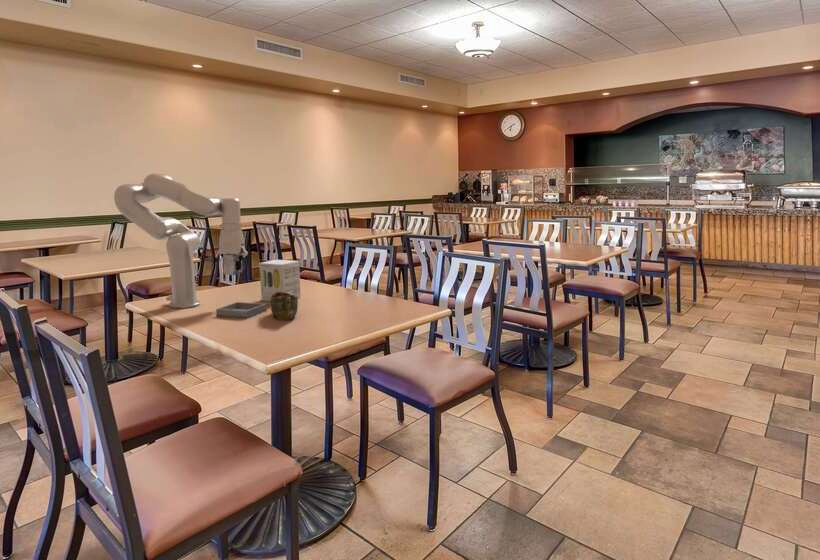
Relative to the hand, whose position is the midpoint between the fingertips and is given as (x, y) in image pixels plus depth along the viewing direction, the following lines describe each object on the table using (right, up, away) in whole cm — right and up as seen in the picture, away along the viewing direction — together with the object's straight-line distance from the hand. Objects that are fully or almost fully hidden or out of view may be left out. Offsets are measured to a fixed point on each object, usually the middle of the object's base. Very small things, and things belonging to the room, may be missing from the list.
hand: (233, 269), depth 226 cm
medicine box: (0, -2, 0) cm, 2 cm away
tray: (+8, -19, -12) cm, 23 cm away
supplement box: (+16, -14, +18) cm, 28 cm away
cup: (+26, -20, -17) cm, 37 cm away
